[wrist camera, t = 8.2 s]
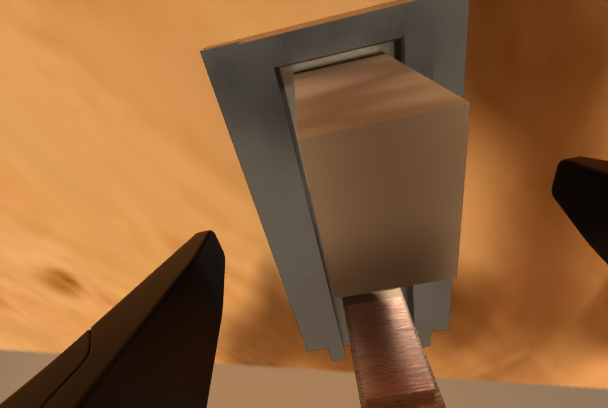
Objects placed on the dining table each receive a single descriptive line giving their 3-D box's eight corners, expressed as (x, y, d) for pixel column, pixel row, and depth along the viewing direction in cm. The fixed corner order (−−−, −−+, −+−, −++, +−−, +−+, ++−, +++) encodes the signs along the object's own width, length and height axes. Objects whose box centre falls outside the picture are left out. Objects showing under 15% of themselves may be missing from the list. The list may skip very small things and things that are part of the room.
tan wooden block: (383, 51, 12) (470, 102, 6) (391, 178, 15) (455, 291, 9) (293, 72, 12) (297, 139, 7) (319, 192, 15) (337, 311, 10)
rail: (457, -15, 12) (671, -31, 5) (443, 316, 23) (507, 449, 16) (205, 47, 13) (113, 102, 6) (306, 338, 24) (313, 474, 17)
